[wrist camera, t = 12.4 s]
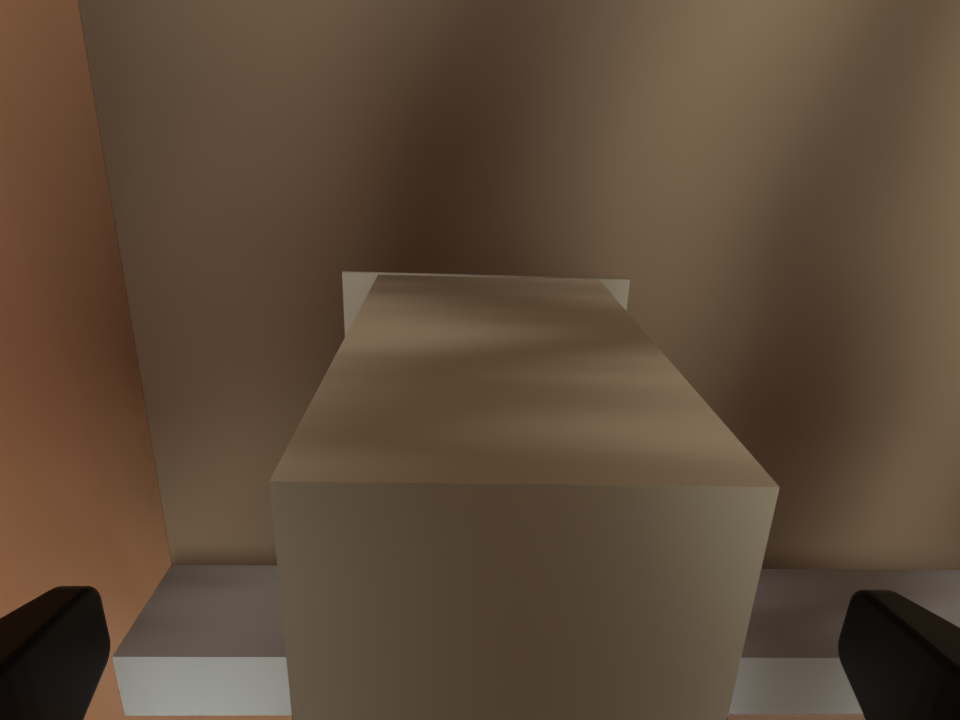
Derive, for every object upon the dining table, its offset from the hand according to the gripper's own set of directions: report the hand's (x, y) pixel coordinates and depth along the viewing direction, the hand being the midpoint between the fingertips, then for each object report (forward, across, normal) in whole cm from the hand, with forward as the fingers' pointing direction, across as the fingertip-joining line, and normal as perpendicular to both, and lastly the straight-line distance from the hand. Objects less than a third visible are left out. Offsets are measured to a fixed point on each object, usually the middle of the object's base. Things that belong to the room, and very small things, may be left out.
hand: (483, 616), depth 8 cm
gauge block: (+5, 0, 0) cm, 5 cm away
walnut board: (+7, -7, -2) cm, 10 cm away
